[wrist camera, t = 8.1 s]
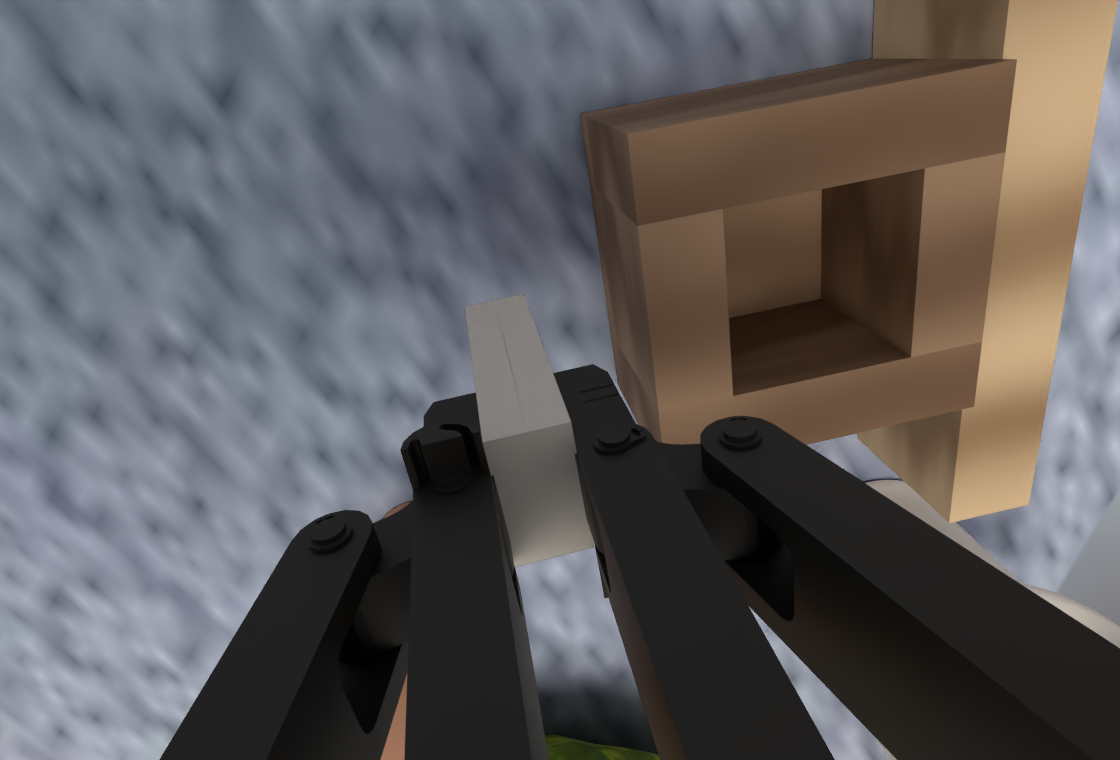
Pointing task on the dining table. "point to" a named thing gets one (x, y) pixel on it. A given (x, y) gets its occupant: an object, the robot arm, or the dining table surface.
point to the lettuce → (591, 750)
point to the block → (802, 245)
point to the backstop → (1007, 236)
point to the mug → (989, 559)
